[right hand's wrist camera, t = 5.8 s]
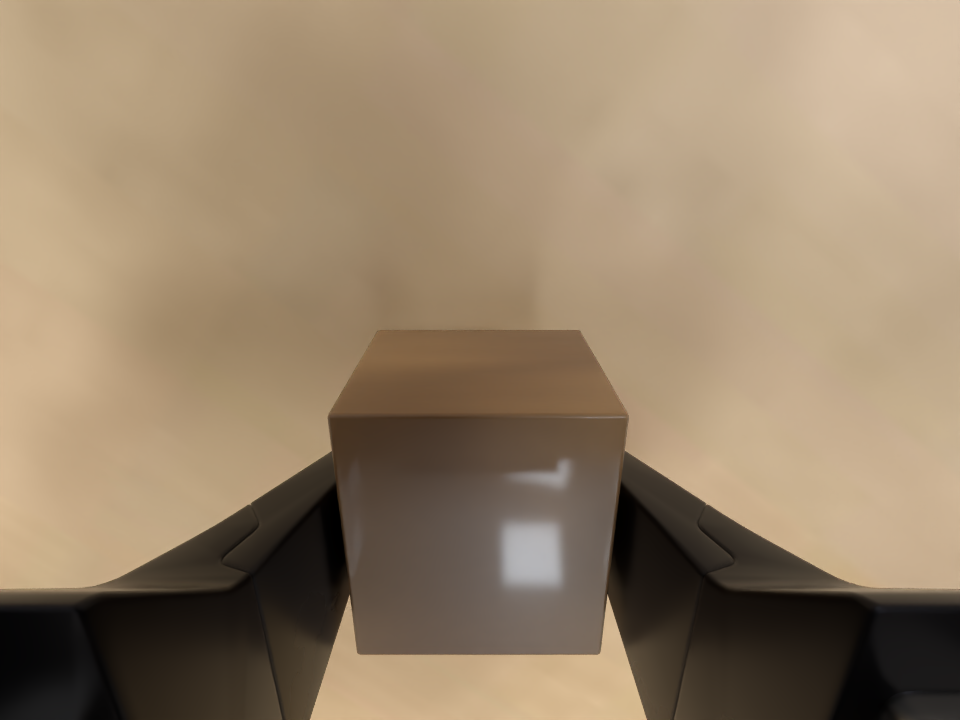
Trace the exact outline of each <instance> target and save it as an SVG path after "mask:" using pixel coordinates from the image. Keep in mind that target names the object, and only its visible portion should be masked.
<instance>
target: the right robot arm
mask: <svg viewBox="0 0 960 720" xmlns="http://www.w3.org/2000/svg"><path fill="white" fill-rule="evenodd" d="M607 594H608V597H609V600H610V603H611V606H612V609H613V613H614V616H615V619H616V622H617V625H618V629H619V632H620V635H621V638H622V641H623V644H624V648H625V651H626V654H627V657H628V660H629V664H630V667H631V670H632V673H633V676H634V680H635V683H636V686H637V689H638V692H639V695H640V699H641V702H642V705H643V708H644V711H645V715H646V718H647V720H960V589H901V588H870V587H864V586H859V585H856V584H852V583H849V582H846V581H844V580H841V579H839V578H837V577H834V576H832V575H830V574H828V573H827V572H825V571H823V570H821V569H819V568H817V567H816V566H814V565H812V564H810V563H808V562H806V561H805V560H803V559H801V558H799V557H797V556H795V555H794V554H792V553H790V552H788V551H786V550H784V549H783V548H781V547H779V546H777V545H775V544H773V543H772V542H770V541H768V540H766V539H764V538H763V537H761V536H759V535H757V534H755V533H754V532H752V531H750V530H748V529H747V528H745V527H743V526H741V525H740V524H738V523H737V522H735V521H733V520H732V519H730V518H728V517H727V516H725V515H724V514H722V513H720V512H719V511H717V510H716V509H714V508H713V507H711V506H710V505H706V503H705V502H703V501H702V500H700V499H699V498H697V497H696V496H694V495H692V494H691V493H689V492H688V491H686V490H685V489H683V488H682V487H680V486H679V485H677V484H675V483H674V482H672V481H671V480H669V479H668V478H666V477H665V476H663V475H662V474H660V473H658V472H657V471H655V470H654V469H652V468H651V467H649V466H648V465H646V464H645V463H643V462H641V461H640V460H638V459H637V458H635V457H634V456H632V455H631V454H629V453H627V452H626V451H625V452H624V460H623V469H622V477H621V485H620V493H619V502H618V510H617V518H616V527H615V535H614V543H613V552H612V560H611V568H610V577H609V585H608V593H607ZM349 595H350V591H349V583H348V575H347V567H346V559H345V551H344V543H343V535H342V527H341V519H340V511H339V503H338V495H337V487H336V479H335V472H334V464H333V456H332V452H330V453H328V454H327V455H325V456H324V457H322V458H321V459H319V460H318V461H316V462H314V463H313V464H311V465H310V466H308V467H307V468H305V469H303V470H302V471H300V472H299V473H297V474H296V475H294V476H293V477H291V478H289V479H288V480H286V481H285V482H283V483H282V484H280V485H278V486H277V487H275V488H274V489H272V490H271V491H269V492H268V493H266V494H264V495H263V496H261V497H260V498H258V499H257V500H255V501H253V502H252V503H251V505H247V506H246V507H244V508H242V509H241V510H239V511H238V512H236V513H235V514H233V515H231V516H230V517H228V518H227V519H225V520H223V521H222V522H220V523H218V524H217V525H215V526H213V527H212V528H210V529H208V530H206V531H205V532H203V533H201V534H199V535H197V536H196V537H194V538H192V539H190V540H188V541H187V542H185V543H183V544H181V545H179V546H177V547H175V548H174V549H172V550H170V551H168V552H166V553H164V554H163V555H161V556H159V557H157V558H155V559H153V560H151V561H150V562H148V563H146V564H144V565H142V566H140V567H139V568H137V569H135V570H133V571H131V572H129V573H127V574H125V575H123V576H121V577H119V578H117V579H115V580H112V581H109V582H107V583H104V584H100V585H96V586H92V587H85V588H55V589H0V720H310V717H311V714H312V711H313V708H314V705H315V702H316V698H317V695H318V692H319V689H320V686H321V683H322V679H323V676H324V673H325V670H326V667H327V664H328V661H329V657H330V654H331V651H332V648H333V645H334V642H335V639H336V635H337V632H338V629H339V626H340V623H341V620H342V617H343V613H344V610H345V607H346V604H347V601H348V598H349Z"/></svg>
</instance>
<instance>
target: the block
mask: <svg viewBox="0 0 960 720" xmlns="http://www.w3.org/2000/svg"><path fill="white" fill-rule="evenodd" d="M628 419H629V416H628V413H627V412H626V410H625V408H624V407H623V405H622V403H621V401H620V400H619V398H618V396H617V394H616V393H615V391H614V389H613V387H612V386H611V384H610V382H609V380H608V379H607V377H606V375H605V373H604V372H603V370H602V368H601V367H600V365H599V363H598V361H597V360H596V358H595V356H594V354H593V353H592V351H591V349H590V347H589V346H588V344H587V342H586V340H585V339H584V337H583V335H582V333H581V332H580V331H578V330H380V331H377V333H376V335H375V336H374V338H373V340H372V341H371V343H370V345H369V347H368V348H367V350H366V352H365V353H364V355H363V357H362V358H361V360H360V362H359V363H358V365H357V367H356V369H355V370H354V372H353V374H352V375H351V377H350V379H349V380H348V382H347V384H346V385H345V387H344V389H343V391H342V392H341V394H340V396H339V397H338V399H337V401H336V402H335V404H334V406H333V408H332V409H331V411H330V413H329V415H328V424H329V432H330V440H331V448H332V456H333V464H334V472H335V479H336V487H337V495H338V503H339V511H340V519H341V527H342V535H343V543H344V551H345V559H346V567H347V575H348V583H349V591H350V599H351V607H352V615H353V623H354V631H355V639H356V647H357V653H358V654H360V655H598V654H600V651H601V643H602V635H603V626H604V618H605V610H606V601H607V593H608V585H609V577H610V568H611V560H612V552H613V543H614V535H615V527H616V518H617V510H618V502H619V493H620V485H621V477H622V469H623V460H624V452H625V444H626V435H627V427H628Z"/></svg>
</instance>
